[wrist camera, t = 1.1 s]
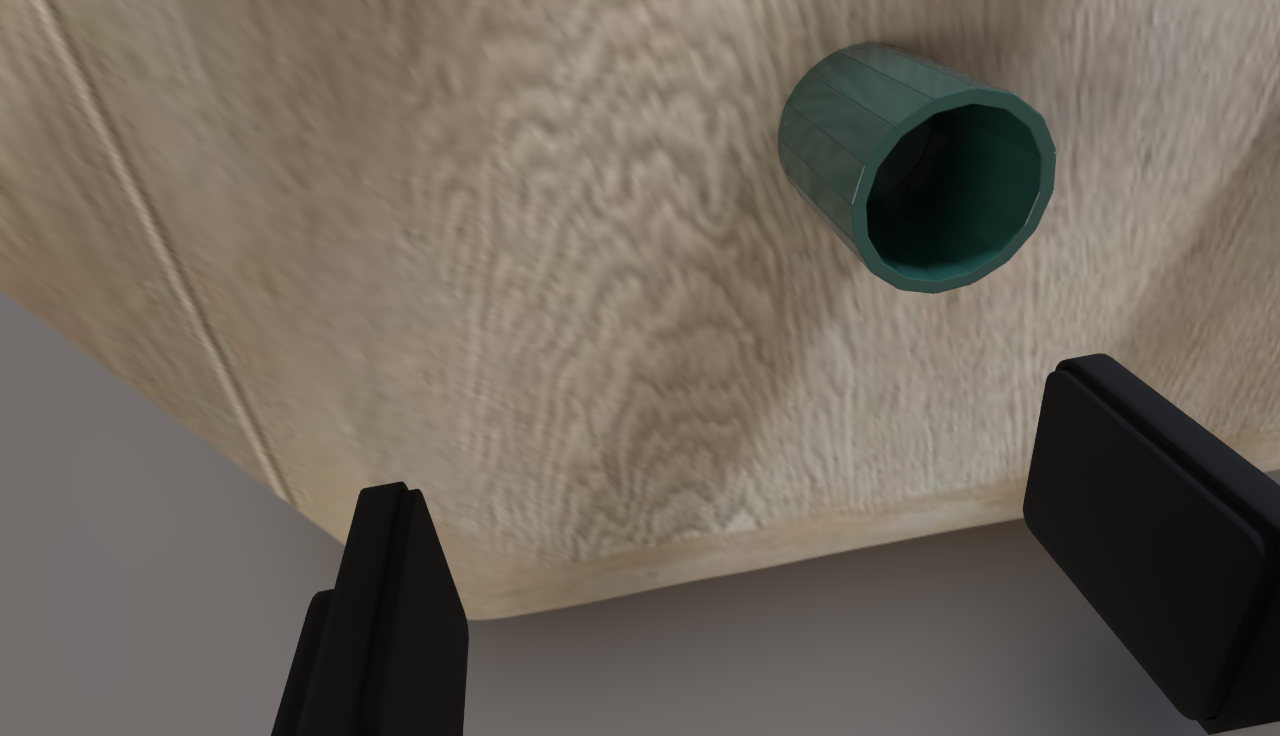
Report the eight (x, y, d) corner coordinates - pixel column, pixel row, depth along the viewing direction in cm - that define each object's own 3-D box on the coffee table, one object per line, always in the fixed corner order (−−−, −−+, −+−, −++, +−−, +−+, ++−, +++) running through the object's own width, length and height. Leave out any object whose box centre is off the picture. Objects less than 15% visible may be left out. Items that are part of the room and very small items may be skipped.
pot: (848, 7, 30) (954, 43, 23) (968, 100, 32) (1097, 160, 25) (745, 159, 32) (810, 236, 25) (864, 235, 35) (954, 323, 28)
